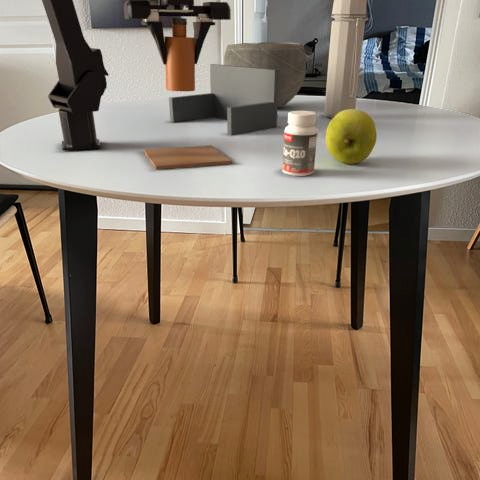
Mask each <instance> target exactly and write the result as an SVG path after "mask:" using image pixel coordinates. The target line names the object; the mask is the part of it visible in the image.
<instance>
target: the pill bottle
mask: <svg viewBox="0 0 480 480" xmlns="http://www.w3.org/2000/svg"><path fill="white" fill-rule="evenodd" d="M287 124H288V125H287V126H285V128H284V133H283V150H282V151H283V152H282V173H283V174H285V175H289V176H293V177H306V176H310V175H312V174H314V172H315V164H316V154H317V153H316V151H317V143H318V142H317V140H318V128H317V127H316V126H315V125H316V124H317V112H315V111H311V110H293V111H289V112H288V114H287Z"/></svg>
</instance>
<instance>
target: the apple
mask: <svg viewBox="0 0 480 480" xmlns="http://www.w3.org/2000/svg"><path fill="white" fill-rule="evenodd" d="M377 135H378V134H377V127H376V124H375V122H374V120H373V118H372V116H371V115H369V113H367V112H365V111H364V110H360V109H356V108H355V109H347V110H343V111H341V112H339V113H338V114H337V115H336V116H335V117H334V118H331V120H330V121H329V123H328V125H327V128H326V131H325V145H326V149H327V151H328V152H329V153H328V154H330V155H331V156H332V157H333V158H334V159H335V160H337V161H338V162H340V163H342V164H346V165H355V164H358V163H360V162H362V161H363V160H365V159H367V158H368V157H369V156H370V155H371V153H372V151H373V150H374V148H375V146H376V143H377V138H378V136H377Z"/></svg>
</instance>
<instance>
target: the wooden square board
mask: <svg viewBox="0 0 480 480" xmlns="http://www.w3.org/2000/svg"><path fill="white" fill-rule="evenodd" d="M143 153H144V155H145V156H146V157H147V159H148V160H149V162H150V163H151V164H152V166H153V167H154V169H155V170H157V171H158V170H168V169H181V168H182V169H183V168H193V167H194V168H195V167H208V166H219V165H220V166H221V165H231V164H232V160H231V159H230V158H229V157H227V156H226V155H225V154H223V153H222V152H220V151H219V149H217V148H215V146H213V145H212V144H207V145H195V146H194V145H193V146H179V147H163V148H151V149H150V148H148V149H143Z"/></svg>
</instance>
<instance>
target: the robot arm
mask: <svg viewBox="0 0 480 480" xmlns="http://www.w3.org/2000/svg"><path fill="white" fill-rule="evenodd" d="M41 2H42V5H43V8H44V11H45V14H46V17H47V20H48V23H49V26H50V29H51V32H52V36H53V38H54V42H55V66H56V71H57V77H58V81H57V82H56V83H55V85H54V86H53V88H52V89H51V91H50V92H49V93H48V95H47V98H48V100H49V102H50V103H51V106H52V107H53V108H54V109H58V116H59V121H60V127H61V133H62V139H63V140H61V148H62V149H61V150H62V151H77V150H94V149H101V148H102V144H101V142H100V138H98V137H97V130H96V124H95V116H94V112H99V111H100V106H101V100H102V97H103V96H104V94H105V91H106V89H107V87H108V82H107V77H109V76H110V74H109V72H108V71H107V70H106V67H105V64H104V57H103V53H102V50H101V48H95V47H94V48H93V47H91V46H90V45H89V44H88V42H87V40H86V38H85V37H84V33H83V30H82V26H81V24H80V20H79V17H78V13H77V11H76V6H75V3H74V0H41ZM184 8H185V9H184ZM231 10H232V9H231V6H230V4H229V2H227V1H206V2H205V1H204V2H202V5H195V0H126V1H125V2H124V4H123V15H124V19H125V20H142V21H140V23H141V25H143V26H146V27H147V29H148V30H149V31H150V34H151V36H152V37H153V40H154V43H155V45H156V48H157V51H158V53H159V56H160V59H161V62H162V64H163V65H164V66H165V65H166V50H165V40H164V37H165V36H164V35H165V34H164V26H163V21H160V17H182V18H184V17H185V18H186V17H187V18H188V17H189V18H190V17H194V18H195V21H193V22H192V27H193V38H195V65H197V64H198V61H199V59H200V58H199V57H200V56H201V52H202V49H203V45H204V43H205V41H206V37H207V35H208V33H209V31H210V28H211V26H216V21H218V20H219V21H231V20H232V17H231V15H232V13H231V12H232V11H231Z"/></svg>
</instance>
